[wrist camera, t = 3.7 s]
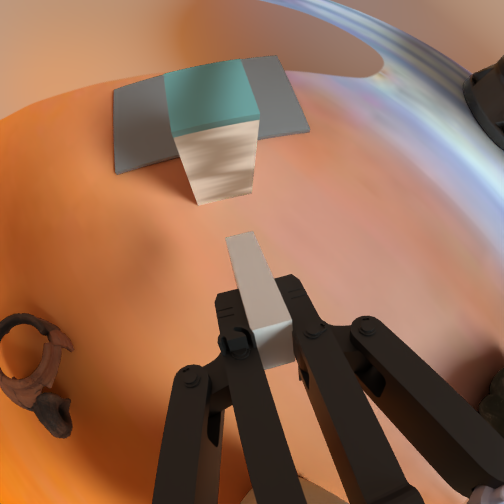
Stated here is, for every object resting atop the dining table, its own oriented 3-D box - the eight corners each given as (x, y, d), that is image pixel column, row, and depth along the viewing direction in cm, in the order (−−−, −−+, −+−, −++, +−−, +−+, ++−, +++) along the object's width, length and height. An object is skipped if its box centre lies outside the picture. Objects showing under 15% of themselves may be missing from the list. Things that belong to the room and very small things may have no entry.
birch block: (239, 148, 28) (240, 58, 16) (251, 193, 27) (260, 113, 15) (189, 159, 28) (163, 73, 16) (198, 205, 27) (171, 132, 15)
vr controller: (8, 366, 23) (-30, 334, 17) (65, 326, 28) (38, 286, 22) (58, 457, 19) (18, 450, 13) (123, 411, 24) (100, 392, 18)
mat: (276, 58, 31) (276, 55, 30) (309, 132, 29) (310, 129, 28) (115, 92, 29) (113, 89, 29) (117, 174, 27) (115, 172, 26)
